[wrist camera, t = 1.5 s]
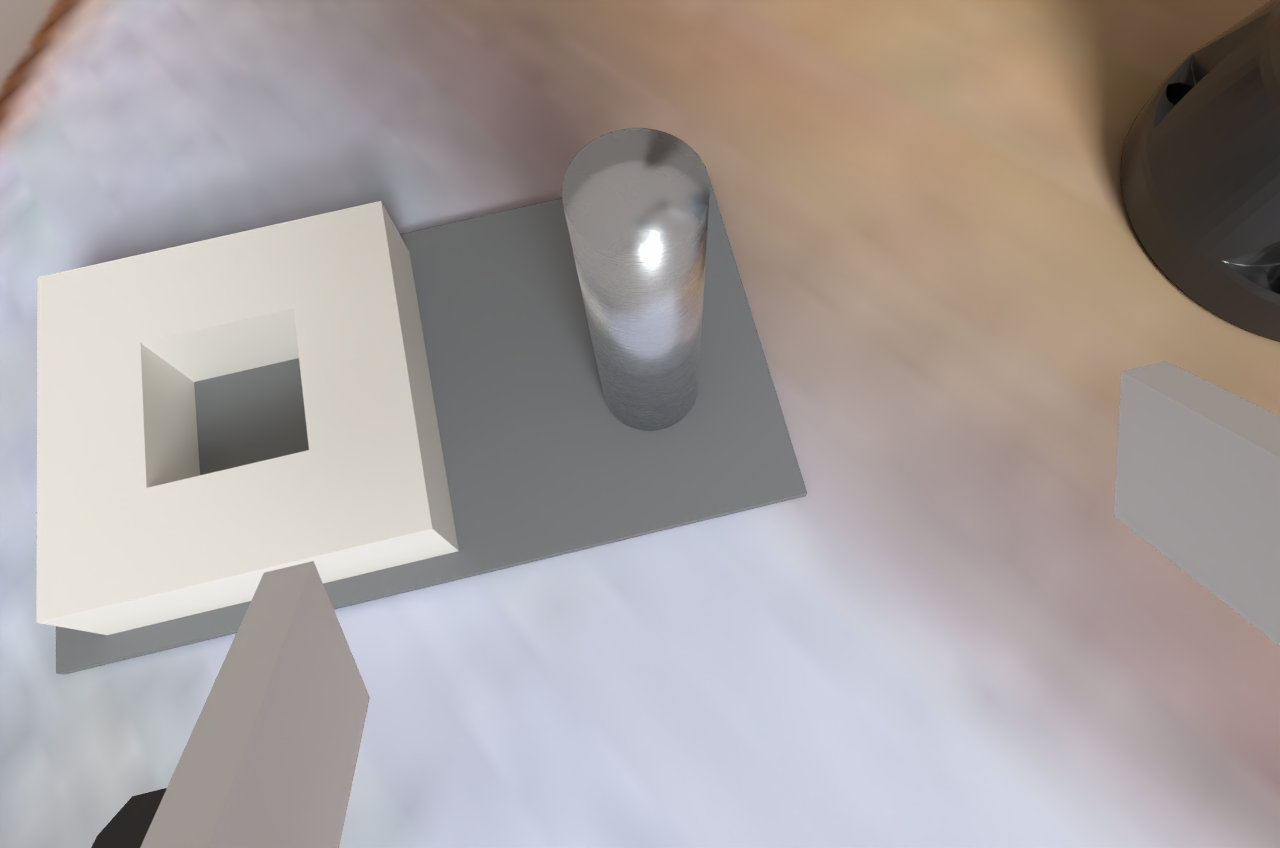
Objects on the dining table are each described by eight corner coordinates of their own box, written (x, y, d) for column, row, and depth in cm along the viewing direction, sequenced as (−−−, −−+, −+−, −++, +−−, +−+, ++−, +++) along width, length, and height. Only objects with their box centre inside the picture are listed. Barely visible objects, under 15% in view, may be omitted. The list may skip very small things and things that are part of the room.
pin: (684, 333, 38) (689, 114, 24) (708, 418, 36) (727, 235, 23) (593, 354, 37) (548, 145, 24) (614, 440, 36) (578, 268, 23)
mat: (704, 172, 41) (705, 166, 40) (805, 495, 35) (806, 492, 35) (61, 316, 40) (54, 312, 39) (64, 674, 34) (56, 673, 34)
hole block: (409, 251, 40) (380, 200, 36) (458, 551, 35) (432, 528, 31) (99, 321, 39) (37, 277, 35) (107, 635, 34) (36, 622, 31)
